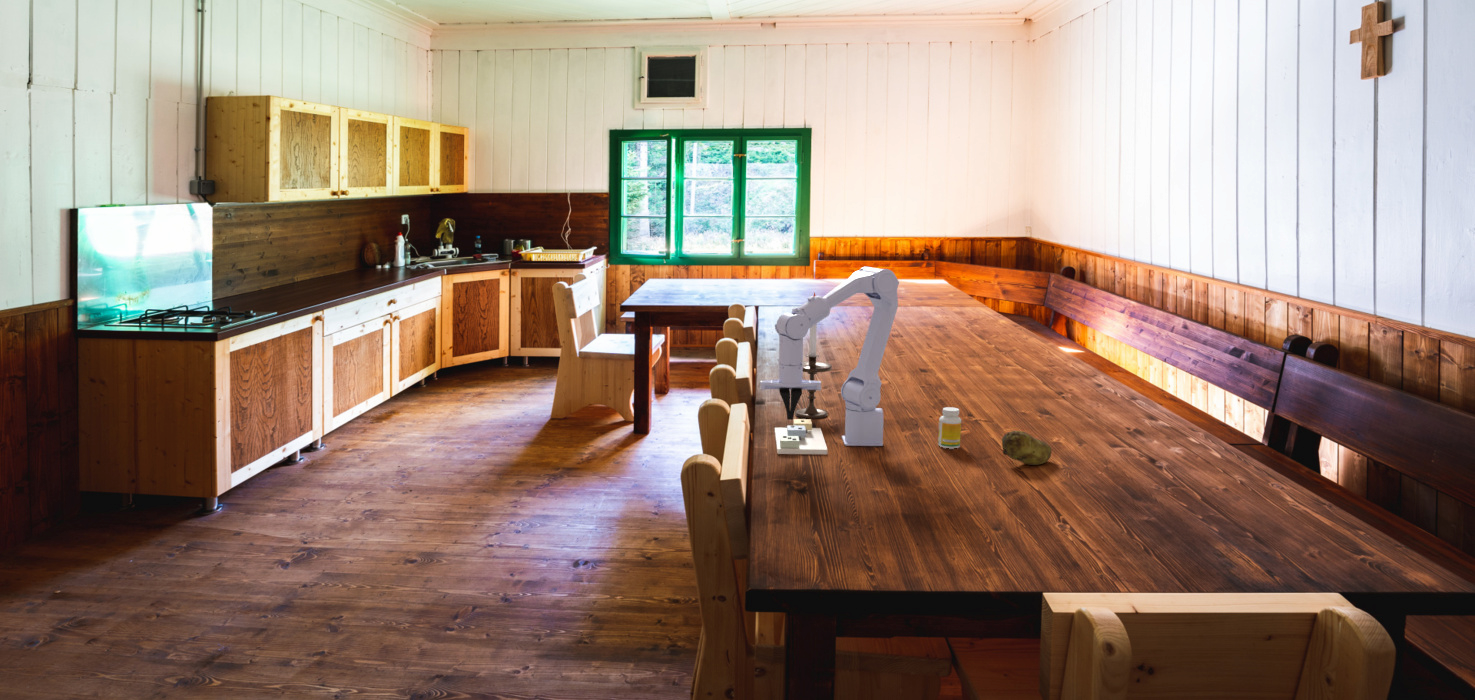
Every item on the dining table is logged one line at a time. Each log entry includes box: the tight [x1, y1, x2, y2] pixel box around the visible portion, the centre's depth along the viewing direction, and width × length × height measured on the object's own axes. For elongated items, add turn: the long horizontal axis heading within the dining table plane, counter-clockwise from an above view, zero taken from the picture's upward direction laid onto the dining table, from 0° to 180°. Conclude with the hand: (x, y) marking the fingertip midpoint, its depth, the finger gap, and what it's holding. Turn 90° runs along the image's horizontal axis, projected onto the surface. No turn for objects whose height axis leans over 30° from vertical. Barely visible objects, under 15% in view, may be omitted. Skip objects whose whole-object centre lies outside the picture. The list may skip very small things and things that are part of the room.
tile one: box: [792, 418, 813, 430], centre depth 229 cm, size 4×4×2 cm
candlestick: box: [794, 291, 833, 420], centre depth 249 cm, size 11×11×35 cm
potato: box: [1001, 430, 1053, 466], centre depth 207 cm, size 8×13×8 cm, turn 95°
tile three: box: [780, 436, 799, 448], centre depth 216 cm, size 4×4×2 cm
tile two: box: [786, 424, 806, 437], centre depth 223 cm, size 4×4×2 cm
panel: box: [774, 427, 828, 455], centre depth 224 cm, size 12×20×2 cm, turn 0°
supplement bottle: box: [937, 406, 962, 450], centre depth 221 cm, size 5×5×10 cm
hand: (790, 418), depth 216 cm, fingers closed
